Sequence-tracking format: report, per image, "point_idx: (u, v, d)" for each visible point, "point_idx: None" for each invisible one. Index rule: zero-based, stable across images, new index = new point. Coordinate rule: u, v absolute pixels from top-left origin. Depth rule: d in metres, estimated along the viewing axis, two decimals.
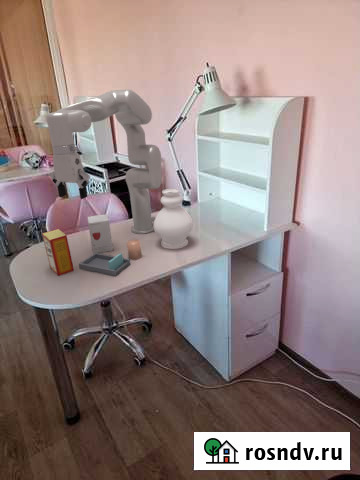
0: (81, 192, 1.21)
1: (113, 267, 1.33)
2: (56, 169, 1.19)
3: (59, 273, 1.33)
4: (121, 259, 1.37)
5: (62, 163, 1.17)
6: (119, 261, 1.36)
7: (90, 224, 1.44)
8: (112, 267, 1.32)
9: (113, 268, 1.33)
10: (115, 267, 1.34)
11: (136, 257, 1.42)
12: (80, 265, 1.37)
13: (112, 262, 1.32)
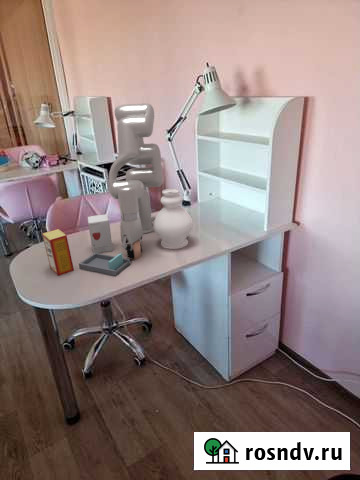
0: None
1: (113, 267, 1.33)
2: (132, 233, 1.36)
3: (59, 273, 1.33)
4: (121, 259, 1.37)
5: (136, 225, 1.38)
6: (119, 261, 1.36)
7: (90, 224, 1.44)
8: (112, 267, 1.32)
9: (113, 268, 1.33)
10: (115, 267, 1.34)
11: (136, 257, 1.42)
12: (80, 265, 1.37)
13: (112, 262, 1.32)
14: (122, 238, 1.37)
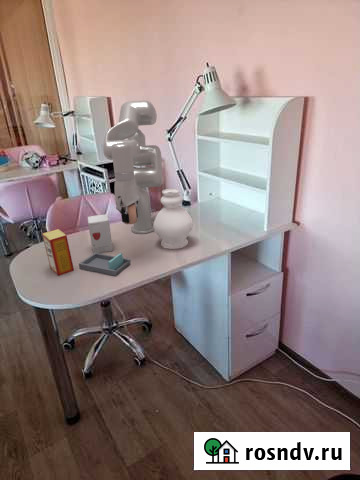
0: None
1: (113, 267, 1.33)
2: (127, 194, 1.29)
3: (59, 273, 1.33)
4: (121, 259, 1.37)
5: (131, 186, 1.31)
6: (119, 261, 1.36)
7: (90, 224, 1.44)
8: (112, 267, 1.32)
9: (113, 268, 1.33)
10: (115, 267, 1.34)
11: (131, 222, 1.35)
12: (80, 265, 1.37)
13: (112, 262, 1.32)
14: (116, 200, 1.30)
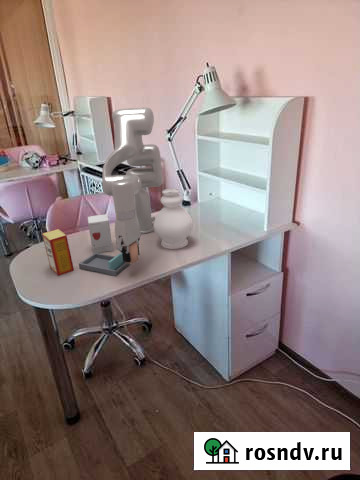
0: None
1: (113, 267, 1.33)
2: (128, 234, 1.21)
3: (59, 273, 1.33)
4: (121, 259, 1.37)
5: (133, 225, 1.23)
6: (119, 261, 1.36)
7: (90, 224, 1.44)
8: (112, 267, 1.32)
9: (113, 268, 1.33)
10: (115, 267, 1.34)
11: (133, 260, 1.27)
12: (80, 265, 1.37)
13: (112, 262, 1.32)
14: (117, 239, 1.22)
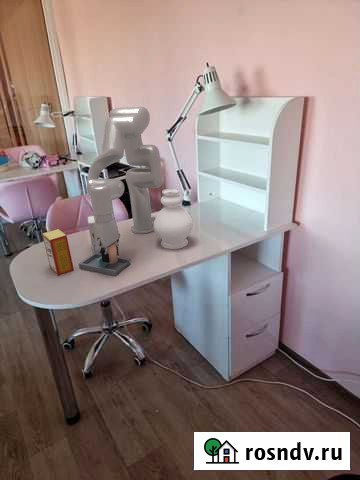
0: None
1: (102, 265, 1.35)
2: (106, 236, 1.27)
3: (59, 273, 1.33)
4: None
5: (111, 227, 1.29)
6: None
7: (90, 224, 1.44)
8: (101, 265, 1.34)
9: (102, 266, 1.35)
10: (104, 265, 1.36)
11: (112, 261, 1.33)
12: (80, 265, 1.37)
13: (101, 260, 1.34)
14: (96, 241, 1.28)
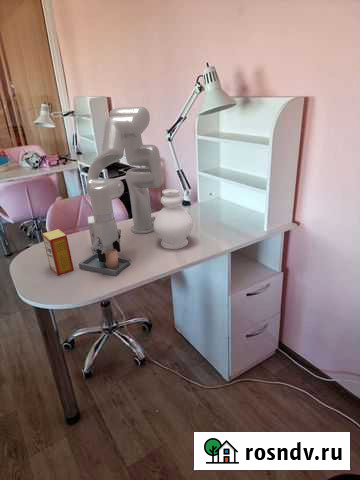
0: None
1: (102, 265, 1.35)
2: (105, 235, 1.27)
3: (59, 273, 1.33)
4: None
5: (111, 227, 1.29)
6: None
7: (90, 224, 1.44)
8: (101, 265, 1.34)
9: (102, 266, 1.35)
10: (104, 265, 1.36)
11: (113, 268, 1.34)
12: (80, 265, 1.37)
13: None
14: None
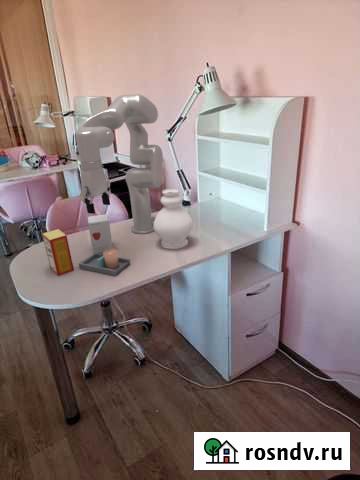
0: None
1: (102, 265, 1.35)
2: (94, 184, 1.23)
3: (59, 273, 1.33)
4: None
5: (99, 176, 1.25)
6: None
7: (90, 224, 1.44)
8: (101, 265, 1.34)
9: (102, 266, 1.35)
10: (104, 265, 1.36)
11: (113, 268, 1.34)
12: (80, 265, 1.37)
13: (101, 260, 1.34)
14: None
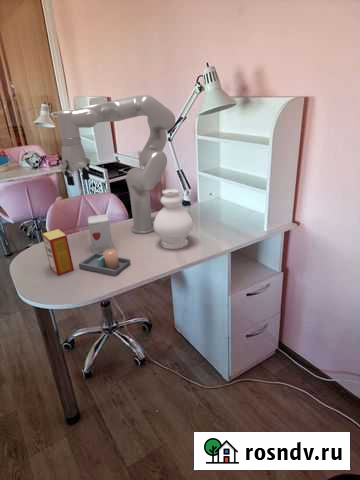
0: None
1: (102, 265, 1.35)
2: (73, 159, 1.38)
3: (59, 273, 1.33)
4: None
5: (78, 152, 1.40)
6: None
7: (90, 224, 1.44)
8: (101, 265, 1.34)
9: (102, 266, 1.35)
10: (104, 265, 1.36)
11: (113, 268, 1.34)
12: (80, 265, 1.37)
13: (101, 260, 1.34)
14: None
